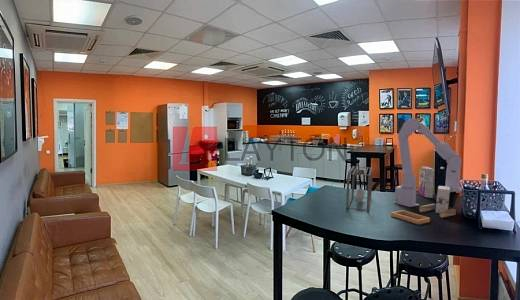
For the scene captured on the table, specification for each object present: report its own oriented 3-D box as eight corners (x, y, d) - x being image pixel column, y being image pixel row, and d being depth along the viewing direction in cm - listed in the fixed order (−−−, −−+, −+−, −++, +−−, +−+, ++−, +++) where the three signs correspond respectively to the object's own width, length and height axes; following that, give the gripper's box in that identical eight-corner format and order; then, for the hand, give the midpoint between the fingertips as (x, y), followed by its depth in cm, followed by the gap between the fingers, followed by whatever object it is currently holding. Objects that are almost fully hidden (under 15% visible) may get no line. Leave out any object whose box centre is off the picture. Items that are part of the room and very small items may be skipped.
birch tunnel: (419, 211, 148) (419, 206, 148) (432, 208, 153) (433, 203, 153) (442, 217, 139) (442, 212, 138) (455, 214, 144) (456, 209, 144)
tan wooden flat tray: (391, 216, 139) (391, 212, 139) (402, 213, 143) (402, 210, 143) (418, 224, 128) (418, 220, 128) (429, 222, 132) (430, 217, 132)
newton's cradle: (368, 212, 145) (370, 174, 143) (345, 209, 149) (347, 173, 147) (371, 198, 173) (372, 166, 171) (351, 196, 177) (353, 165, 175)
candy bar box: (417, 193, 187) (419, 166, 186) (426, 193, 186) (428, 166, 185) (423, 197, 176) (425, 169, 175) (433, 198, 175) (435, 169, 174)
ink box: (436, 209, 153) (438, 185, 152) (448, 210, 150) (450, 186, 149) (435, 213, 146) (437, 188, 145) (448, 215, 143) (449, 189, 142)
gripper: (452, 182, 143) (450, 211, 144) (469, 179, 150) (467, 207, 152) (437, 179, 149) (435, 207, 150) (454, 177, 156) (452, 203, 158)
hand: (450, 207), depth 151 cm, fingers closed
